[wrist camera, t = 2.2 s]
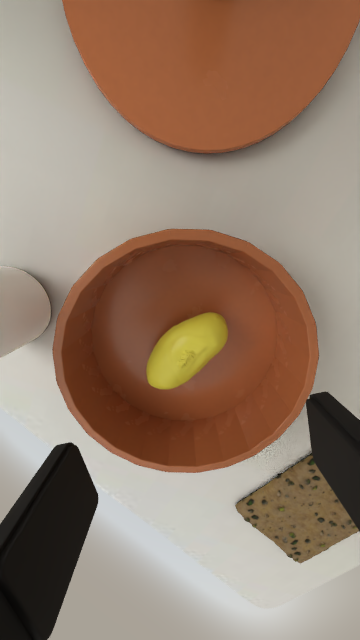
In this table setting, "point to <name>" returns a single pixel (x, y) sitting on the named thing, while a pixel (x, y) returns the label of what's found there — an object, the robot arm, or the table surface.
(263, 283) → the pot
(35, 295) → the can
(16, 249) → the table surface
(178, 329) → the lemon
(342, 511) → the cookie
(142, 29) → the lid
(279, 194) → the table surface
